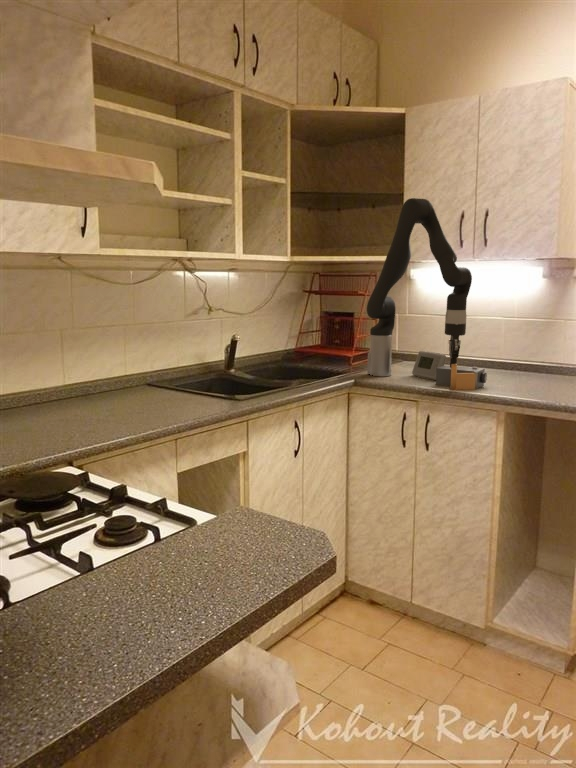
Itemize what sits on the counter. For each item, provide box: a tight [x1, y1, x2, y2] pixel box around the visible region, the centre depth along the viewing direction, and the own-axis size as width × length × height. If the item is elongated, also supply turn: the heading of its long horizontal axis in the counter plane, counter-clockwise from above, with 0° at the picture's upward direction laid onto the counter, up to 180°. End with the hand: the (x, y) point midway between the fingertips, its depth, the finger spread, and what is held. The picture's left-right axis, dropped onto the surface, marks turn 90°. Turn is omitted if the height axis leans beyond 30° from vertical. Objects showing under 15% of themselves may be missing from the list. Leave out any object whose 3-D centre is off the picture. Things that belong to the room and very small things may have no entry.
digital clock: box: [411, 350, 447, 381], centre depth 251 cm, size 16×9×11 cm, turn 16°
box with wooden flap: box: [435, 364, 488, 389], centre depth 234 cm, size 18×9×7 cm, turn 57°
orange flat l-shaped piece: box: [449, 363, 478, 391], centre depth 225 cm, size 10×2×10 cm, turn 95°
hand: (453, 368), depth 227 cm, fingers closed
